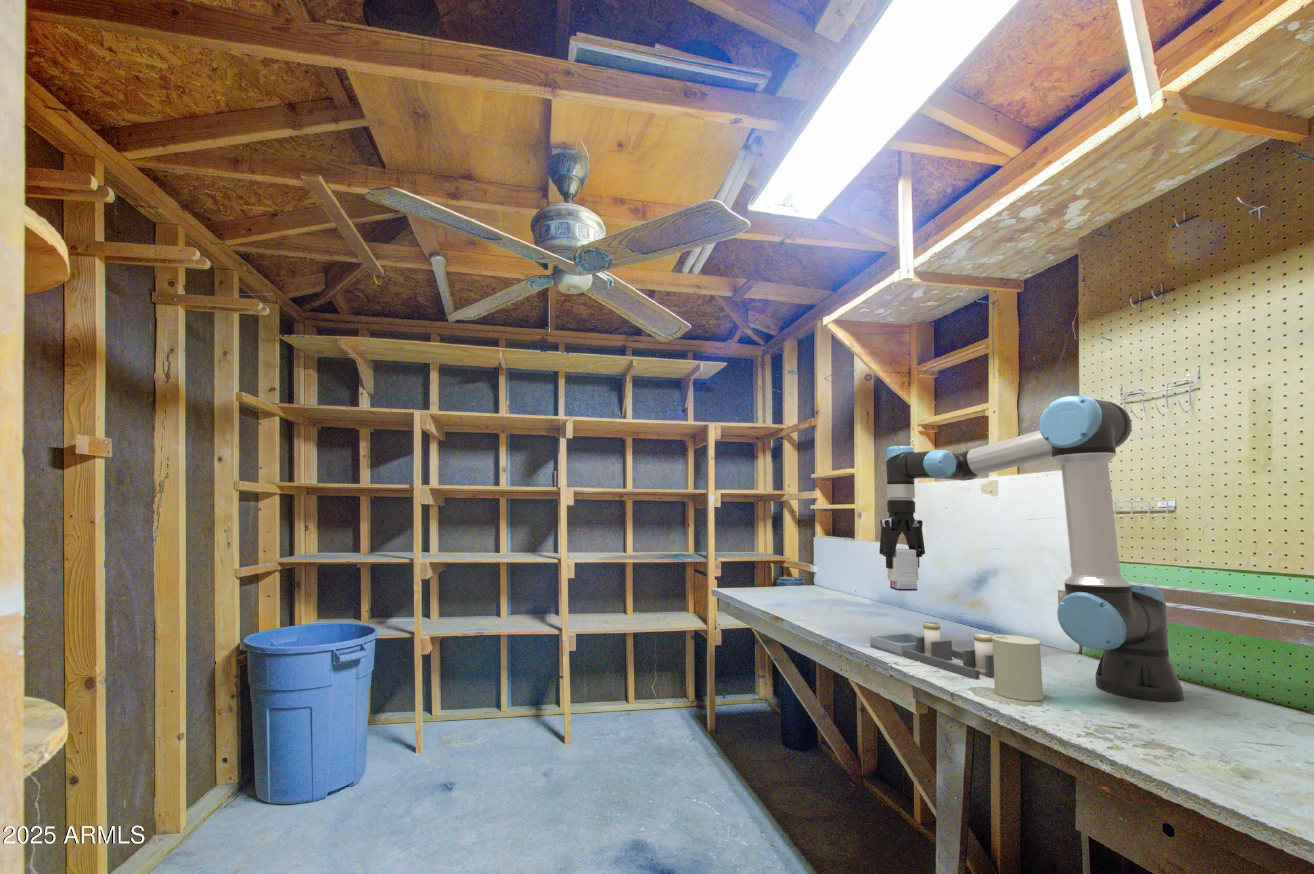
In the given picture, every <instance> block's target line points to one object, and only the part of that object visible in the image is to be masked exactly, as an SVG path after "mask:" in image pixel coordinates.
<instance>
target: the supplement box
mask: <svg viewBox="0 0 1314 874" xmlns="http://www.w3.org/2000/svg"><path fill="white" fill-rule="evenodd" d="M893 557H895V558H896V568H897V581H891V580H889V585H890V586H889V588H890V589H891V590H894V591H898V592H916V591H918V580H917V567H916V550H912V549H909V548H896V550H895V553H894V556H893Z"/></svg>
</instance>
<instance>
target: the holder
mask: <svg viewBox="0 0 1314 874" xmlns="http://www.w3.org/2000/svg"><path fill="white" fill-rule="evenodd" d="M924 652H925V648H924V635H923V636H922V635H921V636H920V637H916V652H915V651H912V650H909V649H904V656H903V657H904V658H905V657H906V659H909V660H912V659H913V661H915V662H918V661H920V662H919V663H921V662H922V663H921V664H925V663H926V664H925V665H928V666H932V667H934V668H937V667H938V668H937V669H942V670H945V671H948V672H951V673H954V674H957V675H961V676H964V677H967V678H971V679H973V680H980V674H979V670H977V669H975V667H976V664H975V648H970V649H962V650H959V649H955V648H953V640H951V639H946V640H941V641H931V656H929V655H926V654H924ZM952 657H954V658H952ZM953 659H956V660H959V659H961V660H960V661H962V662H963V663H962V664H963V665H962V664H960V663H956V662H953ZM948 660H950V661H948ZM985 661H986V678H989V679H990V678H991V679H992V678H994V659H993V654H991V655H985Z"/></svg>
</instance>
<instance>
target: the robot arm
mask: <svg viewBox="0 0 1314 874" xmlns="http://www.w3.org/2000/svg"><path fill="white" fill-rule="evenodd" d="M1038 423H1039V425H1038V426H1039V427H1038V428H1039V430H1036V431H1032V432H1029V433H1024V434H1021V435H1018V436H1015V437H1012V438H1008V439H1004V440H1001V441H997V442H992V443H990V444H987V445H982V446H979V447H976V448H973V449H970V450H969V449H968V450H964V451H962V452H950V451H949V450H946V449H939V450H938V449H934V450H927V451H925V450H924V451H918V452H917V451H914V448H913V447H912V446H911V445H895V446H889V447H887V449H886V455H885V467H886V469H885V470H886V497H887V499H889V500H887V501H886V503H887V504H886V506H887V509H886V510H887V511H886V512H888V518H886V519H880V521H879V524H880V540H879V555H882V556H883V557H885V568H886V569H887V581H890V580H891V581H897V568H896V558H895V557H893V556H894V553H895V550H896V549H897V546H898V541H899V539H900V535H901V534H902V535H904V538H905V541H906V543H907V546H908V549H912V550H916V567H917V581H919V569H920V558H922V557H923V555H925V554H926V551H925V550H926V549H925V542H924V533H923V522H924V521H923V520H922V519H915V517H914V514H915V513H916V501H915V500H914V499H915V498H916V493H915V492H916V491H915V479H917V480H918V479H939V480H940V479H942V480H957V481H963V482H965V481H971V480H974V479H976V478H978V477H979V476H982V475H986V474H991V473H994V472H999V471H1003V470H1007V469H1012V468H1016V467H1021V466H1024V465H1028V464H1031V463H1032V464H1033V463H1037V462H1041V461H1042V462H1043V461H1045V460H1049V459H1052V460H1054V461H1055V462H1056V463H1057V464H1058V465H1060V467H1061V476H1062V477H1061V478H1062V488H1063V497H1064V508H1065V518H1066V528H1067V538H1068V539H1067V540H1068V549H1069V556H1070V557H1069V558H1070V568H1071V570H1070V571H1071V574H1070V575H1069V577H1067V579H1066V580H1064V591H1065V596H1064V597H1063V598H1062V600H1061V601H1060V602H1059V603H1058V606H1057V610H1056V611H1057V613H1056V615H1057V620H1058V624H1059V625H1060V628H1061V630H1062V631H1063V632H1064V634H1065V635H1066V636H1068V637H1069V638H1070V639H1071V640H1072V641H1073V642H1075V643H1076V644H1078V645H1079V646H1081V647H1083V648H1087V649H1090V650H1091V649H1092V650H1095V651H1096V650H1102V653H1101V657H1100V659H1099V662H1098V664H1097V665H1098V666H1097V668H1096V672H1095V674H1094V675H1095V676H1094V677H1095V678H1094V679H1095V686H1096V687H1097V688H1098V689H1101V690H1103V691H1106V692H1109V693H1113V694H1116V695H1119V696H1124V697H1129V698H1134V699H1140V700H1147V701H1156V702H1157V701H1158V702H1177V701H1178V702H1179V701H1181V700H1183V699H1184V693H1183V691H1184V690H1183V686H1182V684H1181V682H1180V680H1179V677H1178V674H1177V673H1176V671H1175V669H1174V666H1173V665H1172V662H1171V659H1170V653H1169V637H1168V625H1167V624H1168V621H1167V609H1166V608H1167V604H1166V602H1165V596H1164V593H1163V591H1162V590H1161V589H1159V588H1156V587H1152V586H1147V585H1146V586H1145V585H1138V584H1137V585H1136V584H1131V583H1130V582H1129V581H1128V580H1126V579H1125V578H1124V577H1123V576H1122V574H1121V567H1120V565H1121V564H1120V557H1119V556H1120V555H1119V548H1118V539H1117V531H1116V522H1115V521H1116V520H1115V511H1114V503H1113V494H1112V485H1111V476H1110V475H1111V474H1110V466H1109V463H1110V462H1111V461H1112V460H1113V459H1114V458H1115V457H1116V456H1117V453H1116V452H1117V450H1116V449H1117V448H1118V447H1120V446H1122V445H1123V444H1124V443H1125V442H1126V441H1127V440H1128V438H1129V436H1130V435H1131V432H1132V427H1133V426H1132V425H1133V424H1132V419H1131V417H1130V415H1129V413H1128V412H1127V411H1126V409H1124V408H1123V407H1122V406H1121V405H1119V404H1117V403H1114V402H1111V401H1107V400H1101V399H1096V398H1092V397H1089V396H1086V395H1068V396H1063V397H1059V398H1057V399H1056V400H1053V401H1052V402H1050V404H1049V405H1048V406H1047V407H1046V408H1044V410H1043V411H1042V414H1041V415H1040V419H1039V422H1038Z"/></svg>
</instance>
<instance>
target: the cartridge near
mask: <svg viewBox="0 0 1314 874" xmlns="http://www.w3.org/2000/svg"><path fill="white" fill-rule="evenodd" d="M992 636H993V635H992V634H987V633H979V632H978V633H973V640H974V649H975V664H976V667H975V669H977V670H979V676H986V661H985V655H991V654H993V643H992Z"/></svg>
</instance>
